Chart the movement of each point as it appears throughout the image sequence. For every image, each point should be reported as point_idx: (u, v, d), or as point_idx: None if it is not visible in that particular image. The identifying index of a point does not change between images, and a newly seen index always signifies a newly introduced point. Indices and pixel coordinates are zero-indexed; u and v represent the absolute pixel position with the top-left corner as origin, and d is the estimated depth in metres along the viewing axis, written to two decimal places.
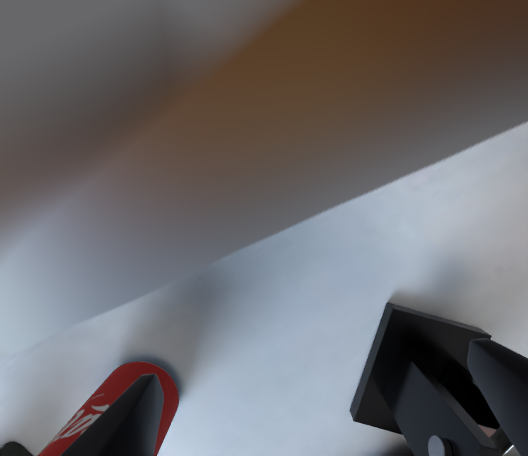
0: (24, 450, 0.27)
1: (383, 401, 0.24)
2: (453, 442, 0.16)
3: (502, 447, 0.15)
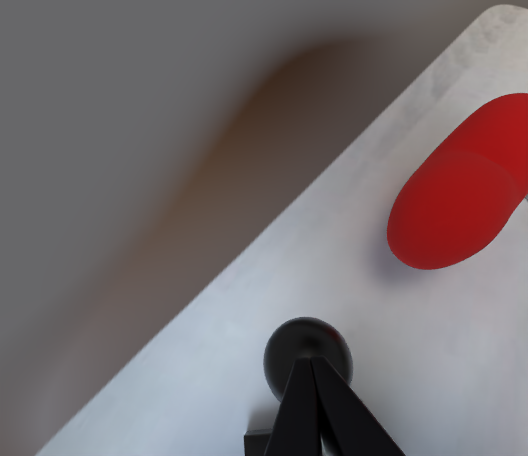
0: None
1: None
2: None
3: None
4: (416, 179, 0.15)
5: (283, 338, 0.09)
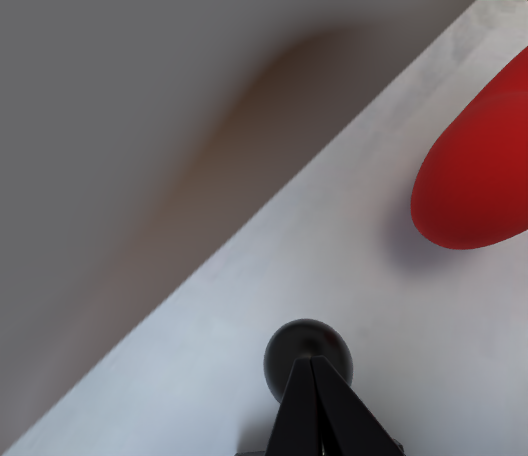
0: None
1: None
2: None
3: None
4: (456, 127, 0.11)
5: (282, 329, 0.10)
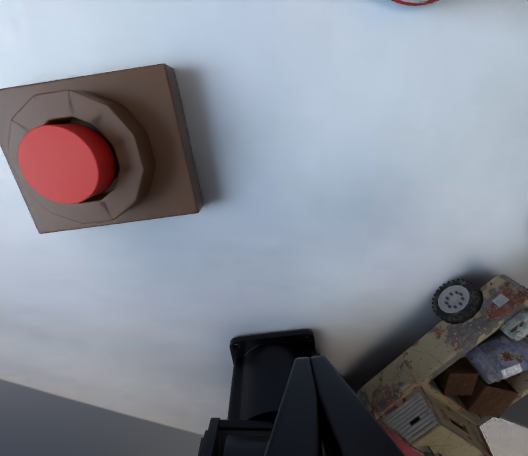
0: None
1: None
2: None
3: None
4: None
5: None
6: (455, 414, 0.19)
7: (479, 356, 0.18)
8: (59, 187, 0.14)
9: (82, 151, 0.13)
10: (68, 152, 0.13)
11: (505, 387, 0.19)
